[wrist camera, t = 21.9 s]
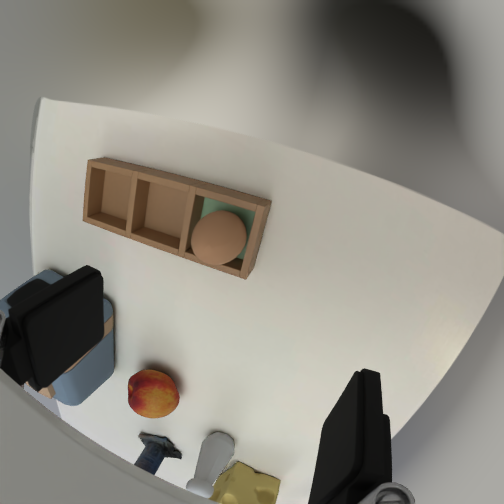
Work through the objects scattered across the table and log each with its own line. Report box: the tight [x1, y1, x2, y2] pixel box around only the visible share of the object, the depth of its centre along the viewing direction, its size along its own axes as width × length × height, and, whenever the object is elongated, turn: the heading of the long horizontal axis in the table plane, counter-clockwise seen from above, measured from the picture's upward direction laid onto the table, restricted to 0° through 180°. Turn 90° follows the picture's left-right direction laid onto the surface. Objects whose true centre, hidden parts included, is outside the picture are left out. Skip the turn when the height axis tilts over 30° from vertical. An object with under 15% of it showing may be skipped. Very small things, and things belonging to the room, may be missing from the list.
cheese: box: [208, 462, 280, 504], centre depth 48 cm, size 10×11×10 cm
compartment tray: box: [83, 157, 272, 279], centre depth 35 cm, size 23×8×3 cm, turn 76°
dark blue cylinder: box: [134, 434, 182, 475], centre depth 49 cm, size 9×8×12 cm
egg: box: [191, 210, 247, 265], centre depth 31 cm, size 5×5×8 cm
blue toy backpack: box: [0, 270, 114, 406], centre depth 40 cm, size 16×16×16 cm
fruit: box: [128, 369, 180, 418], centre depth 43 cm, size 8×8×8 cm
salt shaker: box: [186, 432, 234, 499], centre depth 43 cm, size 6×6×13 cm
